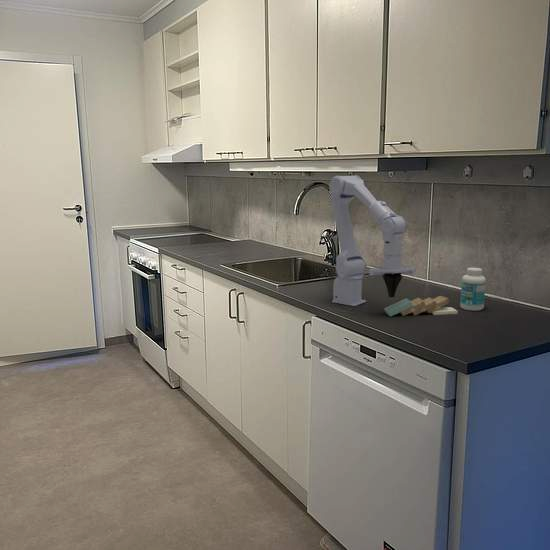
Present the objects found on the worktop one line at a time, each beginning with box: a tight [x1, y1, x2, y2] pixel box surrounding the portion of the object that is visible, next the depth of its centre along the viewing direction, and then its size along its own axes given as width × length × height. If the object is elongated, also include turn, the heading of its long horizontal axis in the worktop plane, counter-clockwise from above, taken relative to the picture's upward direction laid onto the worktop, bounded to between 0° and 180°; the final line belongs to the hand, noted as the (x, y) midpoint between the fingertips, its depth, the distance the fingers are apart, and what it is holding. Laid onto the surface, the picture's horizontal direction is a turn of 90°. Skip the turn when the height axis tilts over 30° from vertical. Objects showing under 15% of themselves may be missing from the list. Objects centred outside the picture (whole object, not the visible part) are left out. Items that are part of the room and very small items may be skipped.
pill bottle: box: [459, 267, 487, 312], centre depth 176 cm, size 8×7×14 cm
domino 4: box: [423, 295, 450, 314], centre depth 174 cm, size 2×5×8 cm
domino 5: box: [430, 306, 458, 316], centre depth 173 cm, size 2×5×8 cm
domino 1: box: [383, 297, 413, 317], centre depth 171 cm, size 2×5×8 cm
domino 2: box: [398, 297, 426, 317], centre depth 171 cm, size 2×5×8 cm
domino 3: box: [410, 296, 437, 316], centre depth 172 cm, size 2×5×8 cm
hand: (391, 296), depth 170 cm, fingers closed
